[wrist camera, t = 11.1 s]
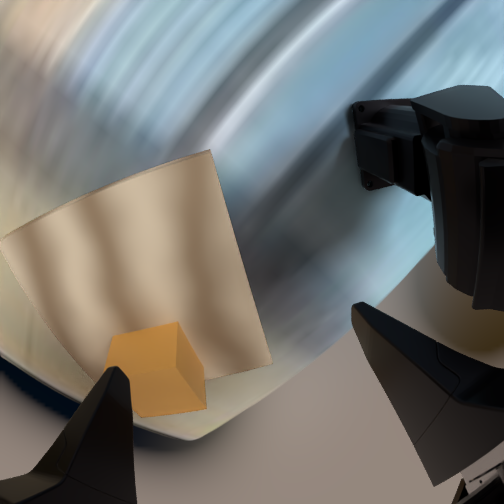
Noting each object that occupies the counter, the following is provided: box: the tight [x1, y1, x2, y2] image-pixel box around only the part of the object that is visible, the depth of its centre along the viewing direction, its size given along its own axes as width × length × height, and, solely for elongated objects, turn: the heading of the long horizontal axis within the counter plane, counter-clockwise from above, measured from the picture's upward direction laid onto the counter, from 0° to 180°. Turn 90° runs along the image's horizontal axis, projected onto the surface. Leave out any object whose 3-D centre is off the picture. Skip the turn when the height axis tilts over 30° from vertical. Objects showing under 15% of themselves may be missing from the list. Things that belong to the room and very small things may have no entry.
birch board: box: [0, 149, 273, 383], centre depth 19 cm, size 18×19×5 cm
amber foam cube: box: [103, 321, 207, 418], centre depth 20 cm, size 6×6×4 cm
